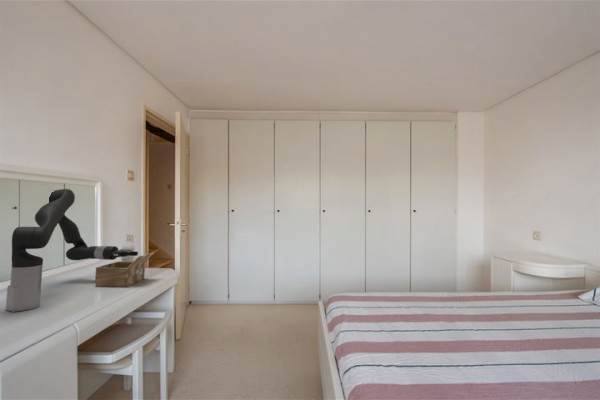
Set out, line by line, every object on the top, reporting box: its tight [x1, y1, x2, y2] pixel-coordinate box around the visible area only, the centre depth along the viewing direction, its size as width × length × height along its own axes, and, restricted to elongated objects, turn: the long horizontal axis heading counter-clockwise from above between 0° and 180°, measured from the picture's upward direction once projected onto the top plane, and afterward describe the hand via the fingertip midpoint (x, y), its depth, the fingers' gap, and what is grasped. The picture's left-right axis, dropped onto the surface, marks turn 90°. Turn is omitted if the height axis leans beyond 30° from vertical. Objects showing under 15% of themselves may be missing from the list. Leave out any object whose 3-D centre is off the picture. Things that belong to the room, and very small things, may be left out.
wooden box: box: [94, 261, 146, 288], centre depth 157 cm, size 19×17×10 cm
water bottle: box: [120, 234, 136, 262], centre depth 177 cm, size 7×7×25 cm
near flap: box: [128, 251, 156, 268], centre depth 158 cm, size 17×8×1 cm
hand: (137, 253), depth 158 cm, fingers closed
